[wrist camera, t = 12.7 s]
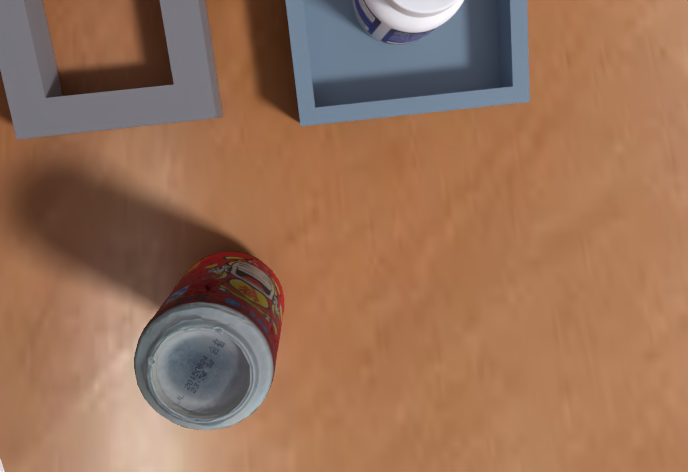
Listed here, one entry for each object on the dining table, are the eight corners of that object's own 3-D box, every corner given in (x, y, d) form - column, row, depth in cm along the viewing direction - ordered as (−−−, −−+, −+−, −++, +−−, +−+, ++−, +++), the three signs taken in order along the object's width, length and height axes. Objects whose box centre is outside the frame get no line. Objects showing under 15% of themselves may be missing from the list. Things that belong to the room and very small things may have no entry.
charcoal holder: (36, 136, 37) (16, 139, 35) (-10, -68, 34) (-35, -80, 32) (222, 116, 37) (216, 118, 35) (192, -88, 34) (182, -102, 32)
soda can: (303, 270, 40) (297, 344, 28) (259, 355, 41) (236, 460, 29) (209, 226, 39) (161, 283, 27) (167, 314, 40) (104, 406, 28)
